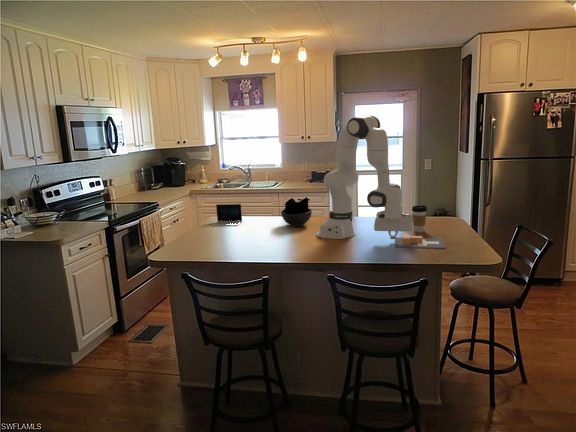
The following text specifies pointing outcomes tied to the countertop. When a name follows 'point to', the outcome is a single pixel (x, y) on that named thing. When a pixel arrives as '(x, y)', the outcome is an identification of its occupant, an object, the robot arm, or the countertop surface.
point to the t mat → (425, 243)
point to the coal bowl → (296, 212)
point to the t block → (411, 239)
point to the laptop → (228, 214)
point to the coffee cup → (419, 217)
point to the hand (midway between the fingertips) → (393, 238)
